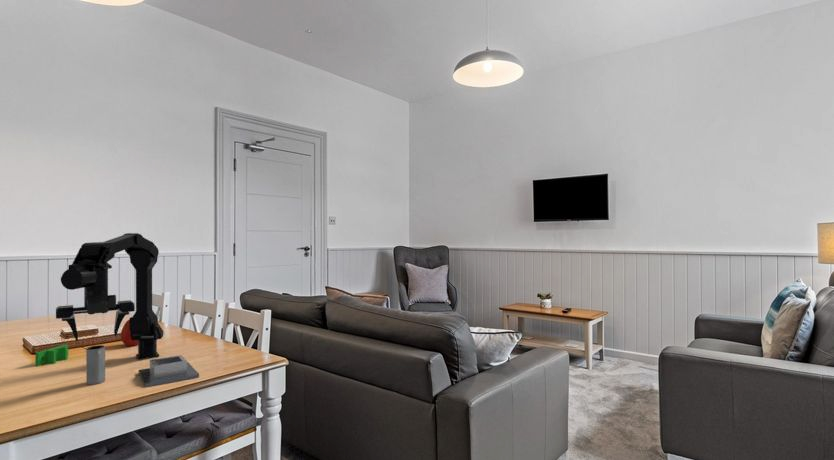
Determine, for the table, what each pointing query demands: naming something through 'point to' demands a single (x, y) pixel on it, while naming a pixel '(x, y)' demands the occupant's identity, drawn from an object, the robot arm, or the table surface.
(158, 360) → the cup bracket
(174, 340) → the table surface
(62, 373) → the table surface
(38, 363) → the pipe clamp
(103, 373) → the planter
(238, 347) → the table surface
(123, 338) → the apple
